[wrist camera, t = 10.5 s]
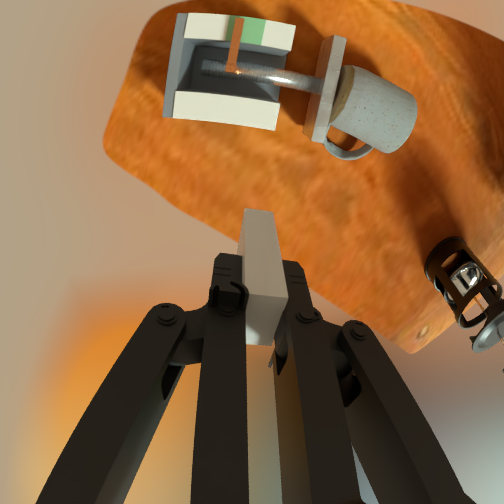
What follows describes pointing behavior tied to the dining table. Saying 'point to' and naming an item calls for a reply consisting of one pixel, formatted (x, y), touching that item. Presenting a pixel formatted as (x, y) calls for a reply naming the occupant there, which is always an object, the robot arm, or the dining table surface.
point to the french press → (468, 291)
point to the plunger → (290, 78)
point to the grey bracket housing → (218, 88)
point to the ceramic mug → (370, 112)
